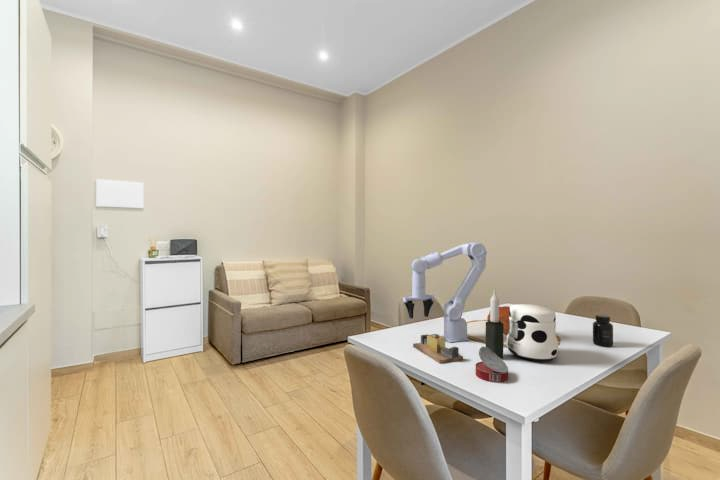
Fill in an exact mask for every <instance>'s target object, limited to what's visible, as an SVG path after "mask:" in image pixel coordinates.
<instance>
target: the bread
mask: <svg viewBox="0 0 720 480" xmlns="http://www.w3.org/2000/svg"><path fill="white" fill-rule="evenodd" d="M509 312H510V306H508V305H506V306H505V305H504V306H499V321H501V323H503V324H504V330H503V334H504V335H506V336H507V335H508V331H509V316H510V315H509ZM488 320H490V311H489V313H488V315H487V321H486V322H488Z"/></svg>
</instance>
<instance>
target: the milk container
mask: <svg viewBox="0 0 720 480" xmlns="http://www.w3.org/2000/svg"><path fill="white" fill-rule="evenodd" d="M509 307H510V312H509V315H510V316H509V331H508V335H507V334H506V347H507V349H508V351H509V352H510V353H511V354H513V355H514V356H516V357H519V358H522V359H525V360H530V361H539V362H541V361H551V360H553V359H555V358H556V357H557V355H558V352H559V342H558V339H557V335H556V327H557V326H556V323H557V320H556V317H557V316H556V311H555V309H554V308H552V307H548V306H546V305H545V306H543V305H540V304H539V305H538V304H530V303H529V304H525V303H522V304H520V303H519V304H518V303H517V304H516V303H515V304H512V305H510V306H509Z"/></svg>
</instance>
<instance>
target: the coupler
mask: <svg viewBox="0 0 720 480" xmlns="http://www.w3.org/2000/svg"><path fill="white" fill-rule="evenodd" d="M426 335H427V334H426ZM441 336H442V335H440V334H437V333H432V334H428V335H427V348H428V349H430V350H432V351H434V352H436V353H438V352H441V348H443V347H446V340H445V338H444V337H441Z"/></svg>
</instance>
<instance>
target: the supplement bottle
mask: <svg viewBox="0 0 720 480" xmlns="http://www.w3.org/2000/svg"><path fill="white" fill-rule="evenodd" d="M592 342H593V344H594V345H595V346H597V347H603V348H611V347H614V325H613V324H612V323H611V317H610V316H608V315H604V314H596V315H595V321H593V323H592Z"/></svg>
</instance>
